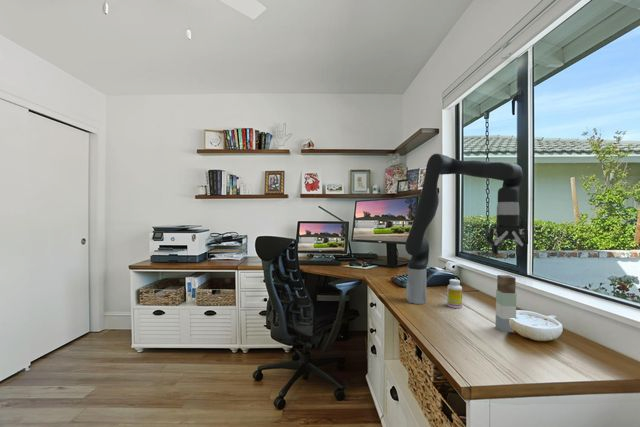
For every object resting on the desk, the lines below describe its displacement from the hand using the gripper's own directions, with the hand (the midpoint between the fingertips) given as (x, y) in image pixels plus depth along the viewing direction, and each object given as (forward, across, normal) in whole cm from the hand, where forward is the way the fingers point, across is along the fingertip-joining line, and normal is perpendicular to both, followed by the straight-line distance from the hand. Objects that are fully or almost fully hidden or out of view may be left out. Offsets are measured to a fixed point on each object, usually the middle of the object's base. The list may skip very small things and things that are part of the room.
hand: (506, 255), depth 114 cm
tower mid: (+24, 0, 0) cm, 25 cm away
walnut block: (+14, 0, 0) cm, 15 cm away
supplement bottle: (+30, +10, -27) cm, 41 cm away
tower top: (+20, 0, 0) cm, 20 cm away
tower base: (+30, 0, 0) cm, 30 cm away
